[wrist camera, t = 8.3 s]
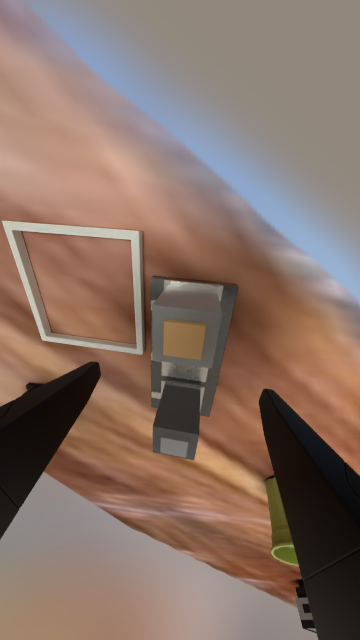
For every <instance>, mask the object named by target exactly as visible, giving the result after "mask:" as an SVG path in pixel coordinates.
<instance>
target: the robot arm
mask: <svg viewBox="0 0 360 640" xmlns="http://www.w3.org/2000/svg"><path fill="white" fill-rule="evenodd" d="M100 376H101V371H100V366H99V363H98V362H89V363H87V364H85V365H83V366H81V367H79V368H77V369H75V370H73V371H71V372H69V373H67V374H65V375H63V376H61V377H59V378H57V379H55V380H53V381H51V382H49V383H47V384H45V385H43V386H42V385H37V384H31V383H28V384H27V385H26V388H27V390H28V391H26V392H25V393H24V394H23V395H22V396H21V397H19V398H17V399H15V400H13V401H11V402H9V403H7V404H5V405H3V406H1V407H0V539H1V537H2V536H3V534H4V533H5V531H6V530H7V528H8V527H9V525H10V523H11V522H12V520H13V518H14V517H15V515H16V514H17V512H18V511H19V508H20V507H21V506H22V504H23V503H24V501H25V500H26V498H27V496H28V495H29V493H30V492H31V490H32V489H33V487H34V486H35V483H36V482H37V481H38V479H39V478H40V476H41V475H42V473H43V471H44V470H45V468H46V467H47V465H48V464H49V462H50V460H51V459H52V457H53V456H54V454H55V453H56V451H57V449H58V448H59V446H60V445H61V443H62V442H63V440H64V438H65V437H66V435H67V434H68V432H69V431H70V429H71V427H72V426H73V424H74V423H75V421H76V420H77V418H78V416H79V415H80V413H81V412H82V410H83V409H84V407H85V405H86V404H87V402H88V400H89V398H90V396H91V394H92V392H93V390H94V388H95V386H96V384H97V382H98V380H99V379H100ZM259 406H260V412H261V419H262V425H263V431H264V436H265V440H266V444H267V448H268V452H269V455H270V459H271V463H272V467H273V470H274V474H275V478H276V482H277V485H278V489H279V493H280V497H281V500H282V504H283V508H284V512H285V515H286V519H287V523H288V527H289V530H290V534H291V538H292V542H293V545H294V549H295V553H296V557H297V561H298V564H299V568H300V572H301V576H302V579H303V580H304V581H303V584H304V587H305V591H306V595H307V599H308V602H309V606H310V610H311V614H312V617H313V621H314V625H315V629H316V632H317V636H318V640H360V476H359V475H358V474H357V473H356V472H355V471H354V470H353V469H352V468H351V467H350V466H349V465H348V464H347V463H346V462H344V460H343V459H342V458H341V457H340V456H339V455H338V454H337V453H336V452H335V451H334V450H333V449H332V448H331V447H330V446H329V445H328V444H327V443H326V442H325V441H324V440H323V439H322V438H321V437H320V436H319V435H318V434H317V433H316V432H315V431H314V430H313V429H312V428H311V427H310V426H309V425H308V424H307V423H306V422H305V421H304V420H303V419H302V418H301V417H300V416H299V415H298V414H297V413H296V412H295V411H294V410H293V409H292V408H291V407H290V406H289V405H288V404H287V403H286V402H285V401H284V400H283V399H282V398H281V397H280V396H279V395H278V394H277V393H276V392H275V391H274V390H272V389H263V391H262V394H261V396H260V399H259Z"/></svg>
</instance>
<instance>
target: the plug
mask: <svg viewBox="0 0 360 640" xmlns="http://www.w3.org/2000/svg"><path fill="white" fill-rule="evenodd" d="M221 317H222V309H221V305H220V301H219V296H218V292H217V290H215V289H205V288H195V287H185V286H175V285H168V286H167V287H166V288H165V290H164V291H163V292H162V293H161V295H160V296H159V297H158V298H157V299H156V301H155V302H154V303H153V304H152V360H156V361H163V362H170V363H177V364H184V365H191V366H198V367H205V368H212V364H213V359H214V354H215V348H216V343H217V338H218V333H219V327H220V322H221Z"/></svg>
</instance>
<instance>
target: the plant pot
mask: <svg viewBox="0 0 360 640" xmlns="http://www.w3.org/2000/svg"><path fill="white" fill-rule="evenodd" d="M266 489H267V496H268V503H269V511H270V519H271V526H272V545H273V546H272V547H271V554H272V555H273V557H275V558H276V559H278V560H280V561H282V562H285V563H288V564H291V565H295V566H299V564H298V561H297V557H296V553H295V549H294V545H293V542H292V538H291V534H290V530H289V527H288V523H287V519H286V515H285V512H284V508H283V504H282V500H281V497H280V493H279V489H278V485H277V482H276V478H275V476H274V478H272V479H269V478H268V479H267V480H266Z"/></svg>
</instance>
